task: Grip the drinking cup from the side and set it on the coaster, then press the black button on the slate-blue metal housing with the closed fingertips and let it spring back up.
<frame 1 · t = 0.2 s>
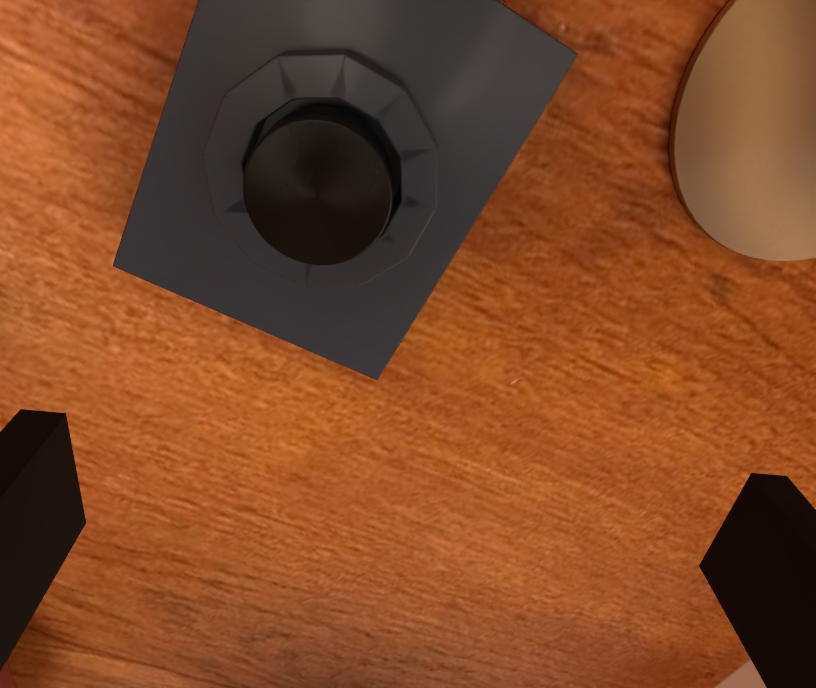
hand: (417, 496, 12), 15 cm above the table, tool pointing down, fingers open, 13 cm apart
button: (321, 187, 18), point 5 cm above the table, slide at 0.1 cm
housing: (333, 151, 23), on the table
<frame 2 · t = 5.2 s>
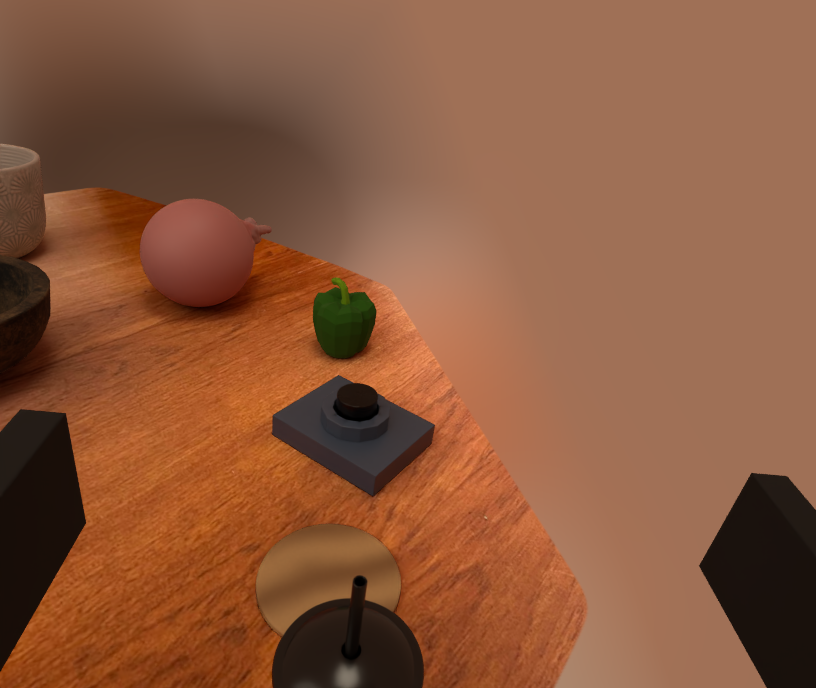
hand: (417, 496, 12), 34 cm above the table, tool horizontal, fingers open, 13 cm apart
bell pepper: (341, 350, 82), on the table
button: (356, 402, 63), point 5 cm above the table, slide at 0.1 cm
coaster: (329, 582, 50), on the table
housing: (353, 439, 66), on the table
balloon: (215, 299, 91), on the table
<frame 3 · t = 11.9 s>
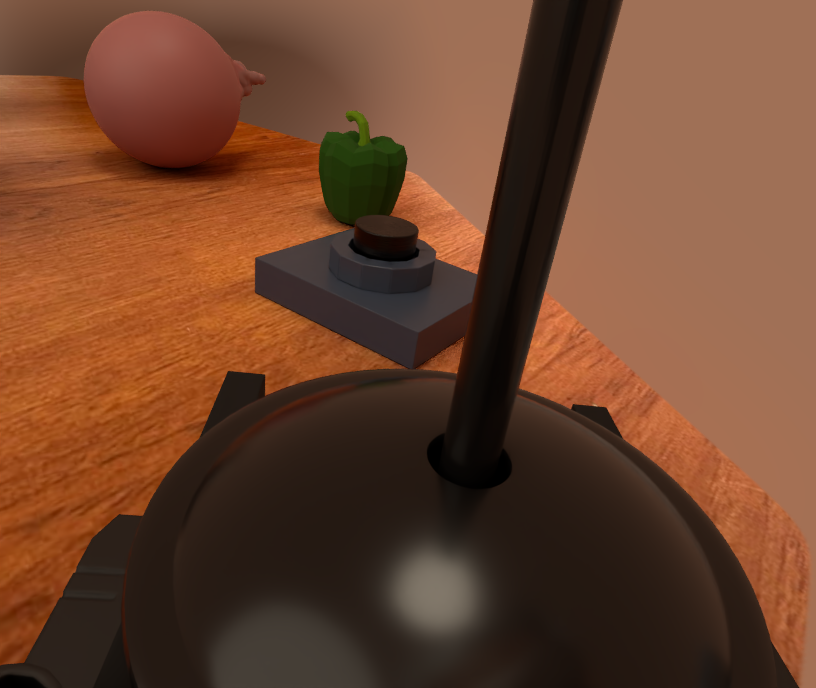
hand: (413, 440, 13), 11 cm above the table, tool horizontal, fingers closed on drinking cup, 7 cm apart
bell pepper: (357, 220, 60), on the table
button: (385, 239, 41), point 5 cm above the table, slide at 0.1 cm
housing: (377, 304, 44), on the table
balloon: (189, 166, 69), on the table
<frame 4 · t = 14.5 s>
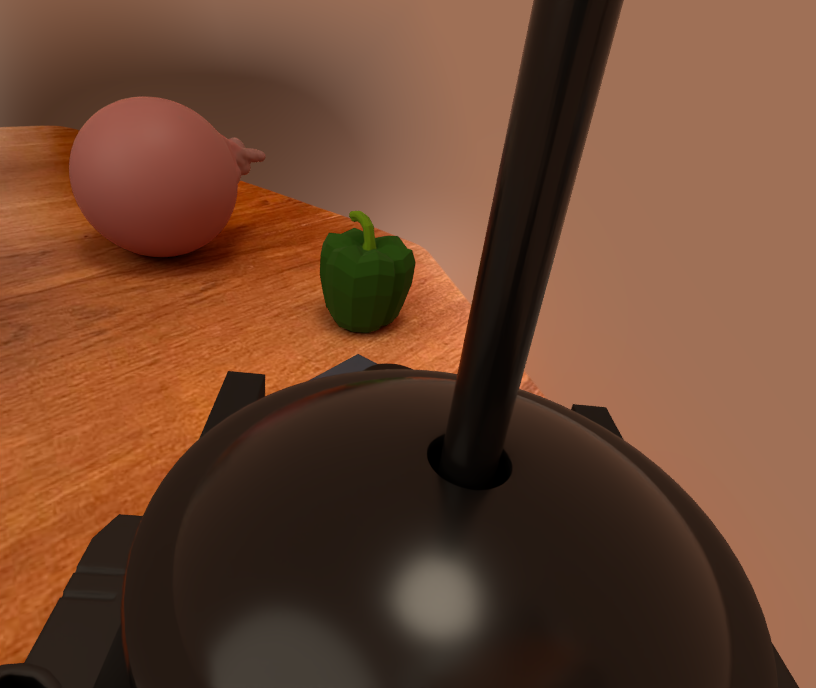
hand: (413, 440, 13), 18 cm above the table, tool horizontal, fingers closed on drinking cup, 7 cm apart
bell pepper: (360, 322, 56), on the table
button: (391, 395, 37), point 5 cm above the table, slide at 0.1 cm
housing: (381, 458, 39), on the table
balloon: (183, 250, 65), on the table
when the fingers open (11 cm above the table, at t = 17.5 s): drinking cup stays where it is, resting on coaster.
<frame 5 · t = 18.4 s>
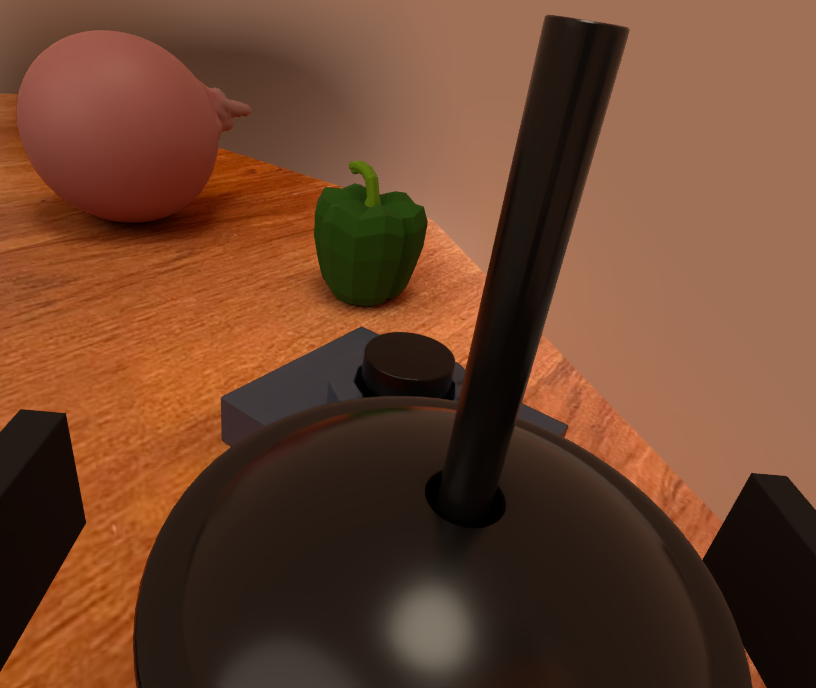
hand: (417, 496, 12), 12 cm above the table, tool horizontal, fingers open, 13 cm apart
bell pepper: (362, 295, 48), on the table
button: (407, 372, 29), point 5 cm above the table, slide at 0.1 cm
housing: (393, 452, 31), on the table
balloon: (157, 217, 56), on the table
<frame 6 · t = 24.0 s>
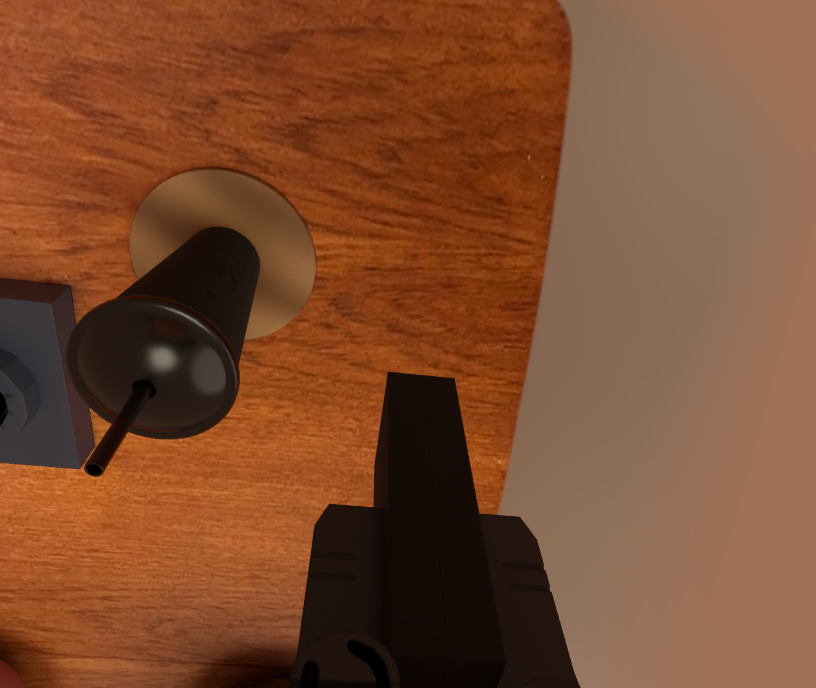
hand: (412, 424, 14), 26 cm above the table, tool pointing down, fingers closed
drinking cup: (224, 260, 39), resting on coaster
coaster: (225, 258, 39), on the table
housing: (4, 364, 43), on the table
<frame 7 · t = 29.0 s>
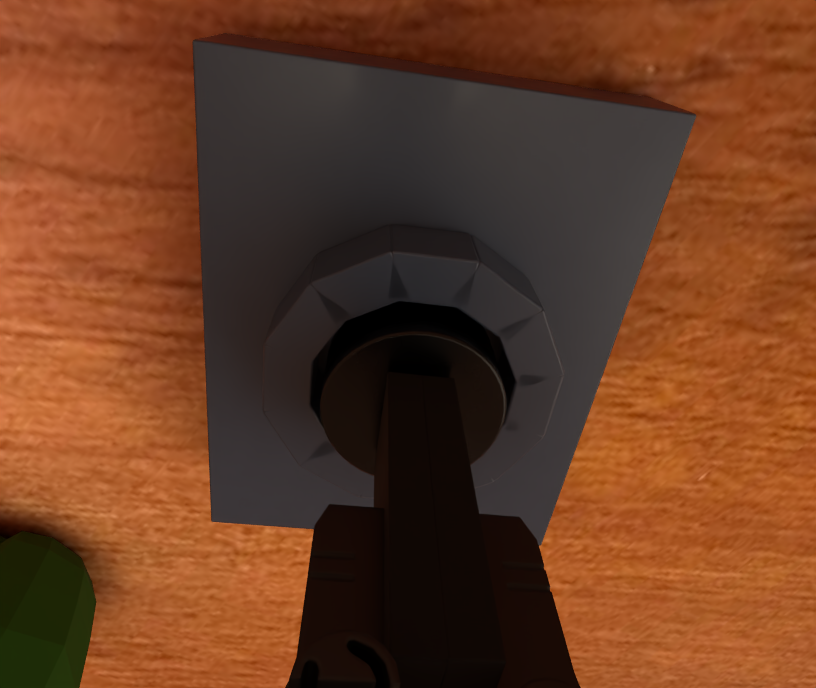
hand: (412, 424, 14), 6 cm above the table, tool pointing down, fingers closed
bell pepper: (20, 563, 24), on the table
button: (412, 389, 15), point 4 cm above the table, slide at -0.7 cm, touching gripper
housing: (406, 310, 18), on the table
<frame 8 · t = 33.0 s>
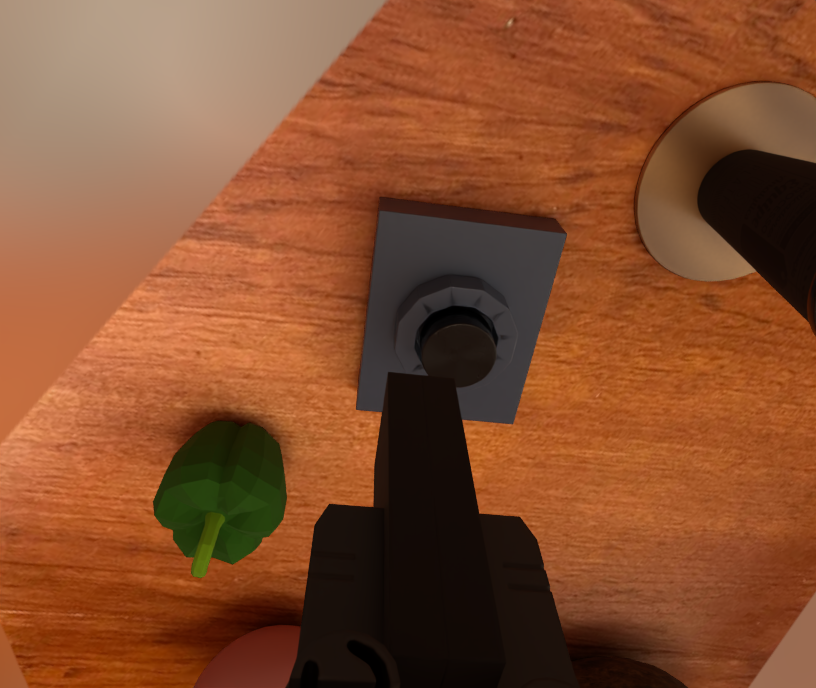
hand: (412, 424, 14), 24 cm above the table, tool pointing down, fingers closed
bell pepper: (238, 444, 45), on the table
button: (457, 348, 35), point 5 cm above the table, slide at 0.1 cm
drinking cup: (735, 189, 36), resting on coaster
bowl: (585, 677, 62), on the table
coaster: (733, 188, 36), on the table
housing: (449, 309, 40), on the table
balloon: (265, 633, 57), on the table
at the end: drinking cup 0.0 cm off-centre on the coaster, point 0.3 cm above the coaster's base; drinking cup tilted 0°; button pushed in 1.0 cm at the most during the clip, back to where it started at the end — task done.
